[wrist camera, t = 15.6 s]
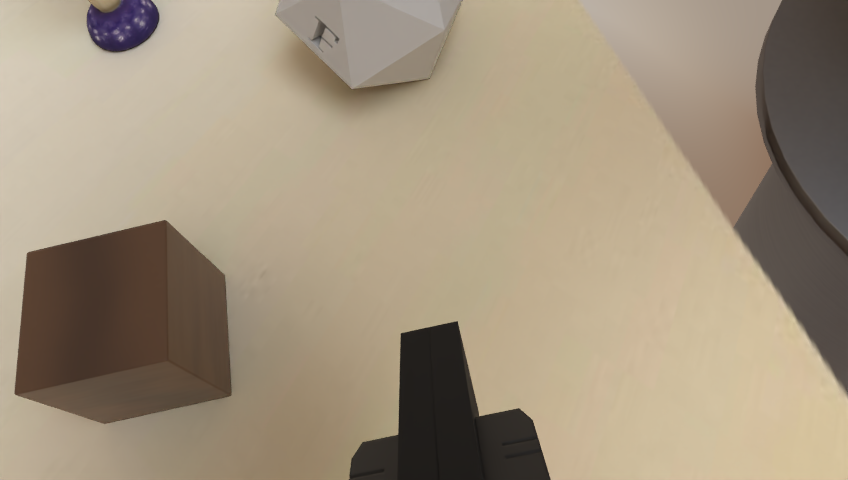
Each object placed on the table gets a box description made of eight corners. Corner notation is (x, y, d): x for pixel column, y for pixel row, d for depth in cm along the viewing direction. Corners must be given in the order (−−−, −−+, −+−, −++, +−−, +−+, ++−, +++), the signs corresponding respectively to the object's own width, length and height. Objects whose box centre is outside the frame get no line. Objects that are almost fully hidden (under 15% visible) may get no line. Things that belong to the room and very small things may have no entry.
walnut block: (225, 274, 33) (166, 219, 28) (232, 396, 30) (167, 360, 25) (107, 301, 33) (26, 251, 28) (104, 424, 31) (13, 395, 25)
